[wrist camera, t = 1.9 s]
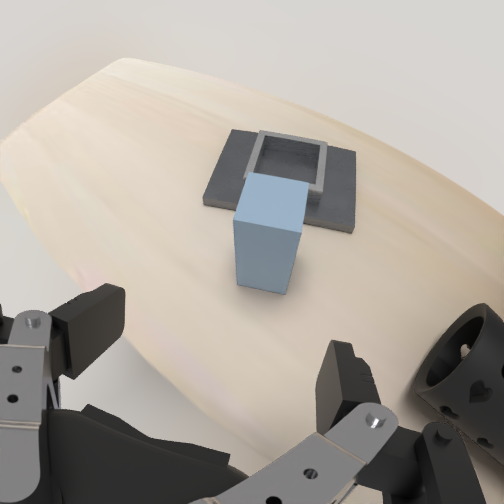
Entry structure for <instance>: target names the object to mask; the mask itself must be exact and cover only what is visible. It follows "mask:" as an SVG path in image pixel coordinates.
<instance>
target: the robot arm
mask: <svg viewBox="0 0 504 504" xmlns="http://www.w3.org/2000/svg"><path fill="white" fill-rule="evenodd" d="M124 324H125V290H124V289H123V288H121V287H118V286H115V285H112V284H108V283H105V284H104V285H102V286H100V287H98V288H97V289H95V290H93V291H90V292H86V293H82V294H80V295H78V296H77V297H75V298H74V299H71V300H70V301H68V302H67V303H65V304H63V305H61V306H59V307H58V308H56V309H55V310H53V311H51V312H49V313H48V314H47V313H45V312H43V311H39V310H29V311H24V312H22V313H20V314H18V315H17V316H16V317H15V319H14V318H10V317H6V316H3V314H2V307H1V304H0V504H341V503H342V502H343V501H344V500H345V499H346V498H347V497H348V496H349V495H350V494H351V493H352V492H353V491H354V490H355V488H356V487H357V486H358V485H362V486H365V487H369V488H372V489H376V490H379V491H382V495H383V504H486V501H485V498H484V495H483V492H482V489H481V487H480V484H479V481H478V478H477V476H476V473H475V470H474V468H473V465H472V463H471V460H470V458H469V455H468V453H467V450H466V448H465V445H464V443H463V440H462V438H461V436H460V434H459V433H458V432H457V431H456V430H455V429H454V428H453V427H451V426H449V425H447V424H444V423H440V422H432V423H429V424H427V425H426V426H425V427H424V429H423V430H422V432H421V433H420V432H416V431H413V430H409V429H406V428H403V427H400V426H398V418H397V416H396V415H395V414H394V413H393V412H392V411H391V410H390V409H389V408H387V407H385V406H383V405H381V402H380V398H379V395H378V392H377V388H376V385H375V384H374V383H375V382H374V379H373V377H372V373H371V370H370V367H369V366H368V364H367V363H366V362H365V361H364V360H363V359H362V358H357V357H355V355H354V351H353V347H352V344H351V343H347V342H341V341H336V340H331V341H330V343H329V346H328V348H327V351H326V354H325V357H324V360H323V363H322V366H321V369H320V372H319V374H318V378H317V382H316V389H315V392H316V423H317V432H315V433H313V434H312V435H310V436H309V437H308V438H306V439H305V440H303V441H302V442H301V443H299V444H298V445H297V446H295V447H294V448H292V449H291V450H290V451H288V452H287V453H285V454H284V455H283V456H281V457H280V458H278V459H277V460H275V461H274V462H272V463H271V464H269V465H268V466H266V467H265V468H263V469H262V470H260V471H258V472H257V473H255V474H254V475H252V476H250V477H249V476H247V475H246V474H244V473H243V472H242V471H240V470H238V469H236V468H235V467H232V466H230V465H228V462H229V458H230V454H228V453H224V452H220V451H216V450H213V449H209V448H205V447H202V446H198V445H195V444H190V443H181V442H174V441H167V440H160V439H154V438H150V437H148V436H146V435H144V434H143V433H141V432H140V431H138V430H137V429H135V428H133V427H132V426H131V425H129V424H128V423H126V422H125V421H123V420H121V419H120V418H119V417H116V416H114V415H112V414H109V413H107V412H105V411H103V410H100V409H98V408H96V407H94V406H92V405H90V404H87V405H86V406H85V408H84V409H83V410H82V411H81V412H80V411H74V410H67V409H61V396H60V380H59V376H60V375H62V374H63V375H65V376H67V377H69V378H71V379H73V380H74V379H76V378H77V377H78V376H79V375H80V374H81V373H82V372H83V371H84V370H85V369H86V368H87V367H88V366H89V365H90V364H92V363H93V362H94V361H95V360H96V359H97V358H98V357H99V356H100V355H101V354H102V353H103V352H105V350H107V349H108V348H109V347H110V346H111V345H112V344H113V343H114V342H115V341H116V340H118V339H119V338H120V336H121V335H122V332H123V329H124Z"/></svg>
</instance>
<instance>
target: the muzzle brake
mask: <svg viewBox="0 0 504 504" xmlns="http://www.w3.org/2000/svg"><path fill="white" fill-rule="evenodd" d="M464 344H466V345H467V348H468V349H470V351H469V353H468V354H467V356H466V357H462V358H461V350H460V349H461V346H462V345H464ZM415 392H416V393H417V394H418V395H419V396H420V397H421V398H423V399H424V400H425V401H426V402H427V403H429V404H430V405H431V406H432V407H433V408H435V409H436V410H437V411H438V412H439V413H441V414H442V415H443V416H444V417H445V418H447V419H448V420H449V421H450V422H451V423H453V424H454V425H455V426H456V427H457V428H459V429H460V430H461V431H462V432H463V433H465V434H466V435H467V436H468V437H469V438H471V439H472V440H473V441H474V442H475V443H477V444H478V445H479V446H480V447H481V448H483V449H484V450H485V451H486V452H488V453H489V454H490V455H491V456H492V457H494V458H495V459H496V460H497V461H498V462H500V463H501V464H502V465H503V466H504V322H503V321H502V319H501V318H500V317H499V316H498V315H497V314H496V313H495V312H494V311H493V310H492V309H491V308H490V307H489V306H488V305H487V304H485V303H480V304H477V305H475V306H473V307H471V308H470V309H468V310H467V311H466V312H464V313H463V314H462V315H461V316H460V317H459V318H458V319H457V320H456V321H455V322H454V323H453V324H452V325H451V326H450V327H449V328H448V329H447V330H446V332H445V333H444V334H443V335H442V337H441V338H440V339H439V340H438V342H437V343H436V344H435V346H434V347H433V349H432V350H431V351H430V353H429V355H428V356H427V358H426V360H425V361H424V363H423V365H422V366H421V368H420V370H419V372H418V374H417V377H416V380H415Z"/></svg>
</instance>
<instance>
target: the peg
mask: <svg viewBox="0 0 504 504" xmlns="http://www.w3.org/2000/svg"><path fill="white" fill-rule="evenodd" d="M308 188H309V183H308V182H302V181H297V180H292V179H287V178H281V177H276V176H270V175H264V174H259V173H253V172H248V175H247V178H246V181H245V184H244V187H243V190H242V193H241V196H240V199H239V203H238V206H237V209H236V212H235V215H234V218H233V228H234V245H235V261H236V277H237V285H241V286H246V287H251V288H256V289H260V290H265V291H270V292H275V293H280V294H286V290H287V286H288V282H289V279H290V275H291V271H292V268H293V264H294V260H295V256H296V252H297V248H298V245H299V241H300V237H301V233H302V227H303V220H304V214H305V208H306V201H307V195H308Z"/></svg>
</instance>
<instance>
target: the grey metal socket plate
mask: <svg viewBox="0 0 504 504" xmlns="http://www.w3.org/2000/svg"><path fill="white" fill-rule="evenodd" d="M327 143H328V142H323V141H318V140H313V139H308V138H303V137H298V136H292V135H286V134H280V133H274V132H268V131H261V130H260V131H259V133H256V132H249V131H241V130H234V129H232V130H231V133H230V135H229V137H228V139H227V142H226V144H225V146H224V148H223V151H222V153H221V155H220V158H219V160H218V162H217V164H216V167H215V169H214V171H213V174H212V176H211V178H210V181H209V183H208V186H207V188H206V190H205V193H204V195H203V204H204V205H208V206H213V207H219V208H225V209H230V210H236V209H237V206H238V203H239V199H240V196H241V193H242V190H243V187H244V184H245V181H246V178H247V175H248V172H253V173H259V174H264V175H270V176H276V177H281V178H287V179H292V180H297V181H302V182H308V183H309V188H308V195H307V201H306V208H305V214H304V220H303V223H304V224H309V225H314V226H319V227H324V228H329V229H334V230H338V231H343V232H348V233H352V231H353V229H354V227H355V201H356V152H355V151H351V150H347V149H342V148H338V147H333V146H328V145H327Z"/></svg>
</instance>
